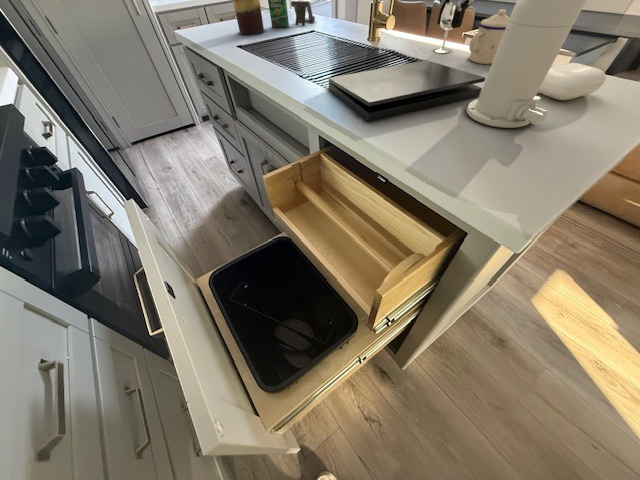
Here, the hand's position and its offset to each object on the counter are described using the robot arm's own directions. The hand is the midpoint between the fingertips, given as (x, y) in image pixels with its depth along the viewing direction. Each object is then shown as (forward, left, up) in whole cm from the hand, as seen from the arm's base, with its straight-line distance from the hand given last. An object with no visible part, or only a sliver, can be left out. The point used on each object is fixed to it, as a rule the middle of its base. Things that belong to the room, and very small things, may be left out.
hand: (448, 24), depth 84 cm
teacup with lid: (-14, -3, -7) cm, 16 cm away
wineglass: (0, 0, -7) cm, 7 cm away
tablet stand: (+70, +24, -7) cm, 74 cm away
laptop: (-24, +32, -7) cm, 41 cm away
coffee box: (+69, +36, -7) cm, 78 cm away
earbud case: (-42, 0, -7) cm, 43 cm away
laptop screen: (-24, +32, -5) cm, 40 cm away
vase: (+66, +50, -7) cm, 83 cm away
